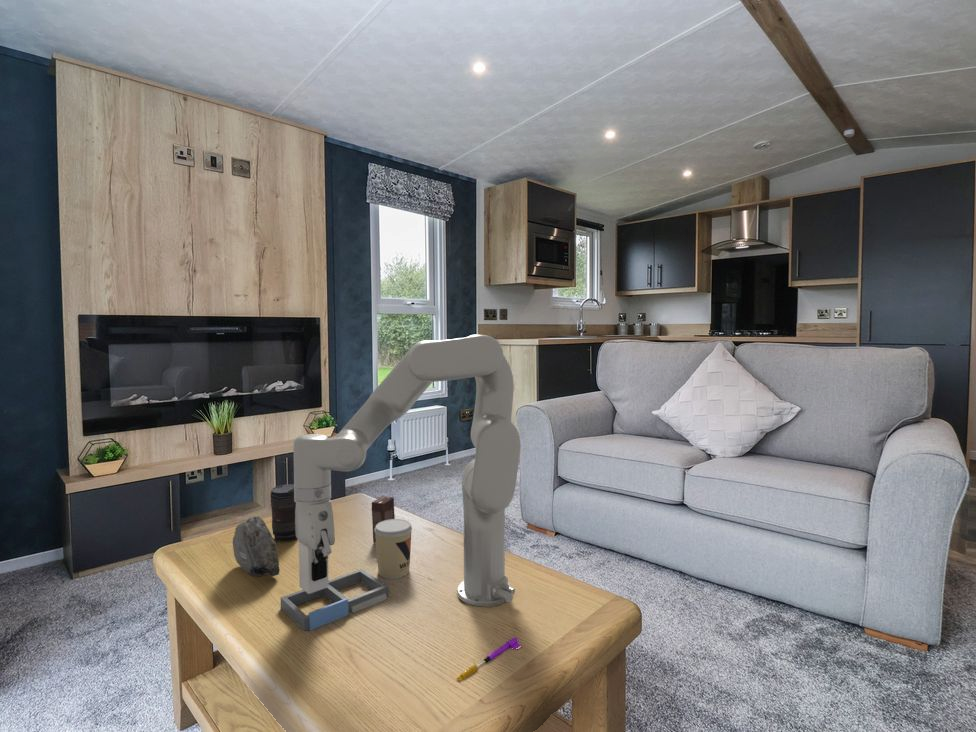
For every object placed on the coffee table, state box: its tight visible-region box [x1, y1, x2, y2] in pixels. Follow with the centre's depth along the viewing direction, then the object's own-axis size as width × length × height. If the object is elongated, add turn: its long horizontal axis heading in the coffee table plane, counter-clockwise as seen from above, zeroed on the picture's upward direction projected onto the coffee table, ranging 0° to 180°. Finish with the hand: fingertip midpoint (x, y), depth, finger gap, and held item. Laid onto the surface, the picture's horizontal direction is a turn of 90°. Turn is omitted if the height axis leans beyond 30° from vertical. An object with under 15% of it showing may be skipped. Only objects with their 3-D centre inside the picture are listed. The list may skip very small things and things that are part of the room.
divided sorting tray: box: [280, 568, 390, 632], centre depth 117 cm, size 13×20×4 cm, turn 133°
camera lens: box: [270, 483, 298, 543], centre depth 154 cm, size 8×8×15 cm
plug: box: [298, 541, 329, 594], centre depth 114 cm, size 4×4×11 cm
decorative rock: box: [232, 515, 280, 577], centre depth 131 cm, size 16×7×15 cm, turn 44°
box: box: [370, 495, 396, 544], centre depth 152 cm, size 6×4×12 cm
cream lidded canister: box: [374, 518, 413, 579], centre depth 132 cm, size 9×9×12 cm
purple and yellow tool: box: [456, 636, 521, 682], centre depth 97 cm, size 3×1×16 cm
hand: (313, 573), depth 114 cm, fingers closed on plug, 4 cm apart
